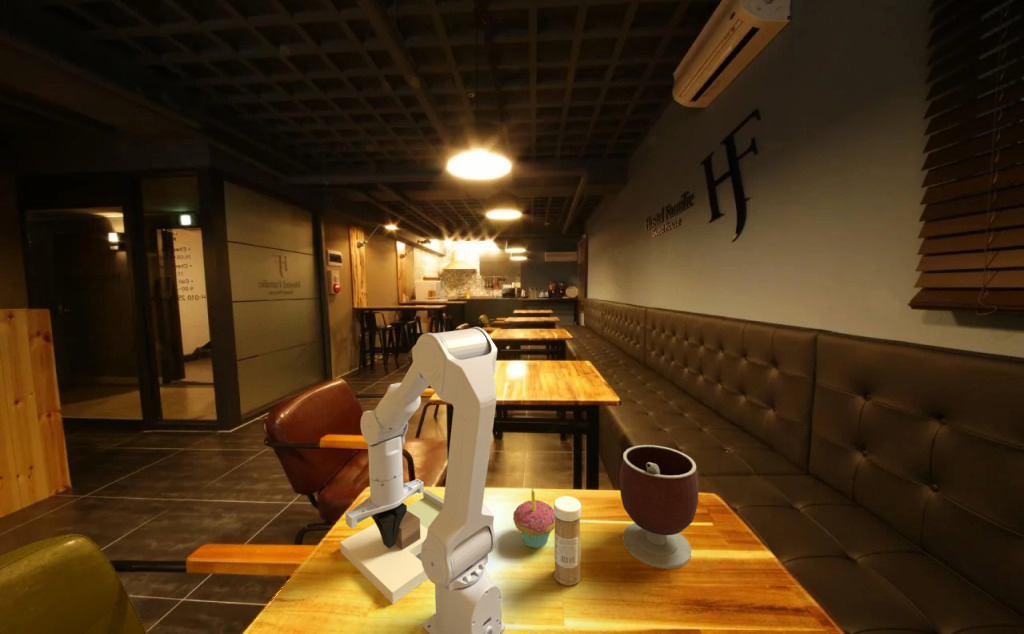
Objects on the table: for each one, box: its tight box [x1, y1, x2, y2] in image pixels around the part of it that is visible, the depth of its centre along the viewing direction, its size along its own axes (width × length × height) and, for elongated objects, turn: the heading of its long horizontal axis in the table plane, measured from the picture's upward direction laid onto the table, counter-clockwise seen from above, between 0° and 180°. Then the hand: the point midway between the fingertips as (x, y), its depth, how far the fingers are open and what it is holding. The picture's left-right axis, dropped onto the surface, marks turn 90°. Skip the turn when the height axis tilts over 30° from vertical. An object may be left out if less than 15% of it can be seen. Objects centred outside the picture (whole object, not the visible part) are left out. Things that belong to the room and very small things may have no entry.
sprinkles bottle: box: [553, 495, 582, 587], centre depth 64 cm, size 5×5×14 cm
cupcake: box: [512, 486, 555, 549], centre depth 74 cm, size 9×8×12 cm
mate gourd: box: [619, 444, 700, 570], centre depth 71 cm, size 16×14×20 cm
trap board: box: [339, 489, 444, 605], centre depth 73 cm, size 18×20×4 cm
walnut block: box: [395, 511, 421, 550], centre depth 71 cm, size 4×4×4 cm
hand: (389, 544), depth 69 cm, fingers closed
